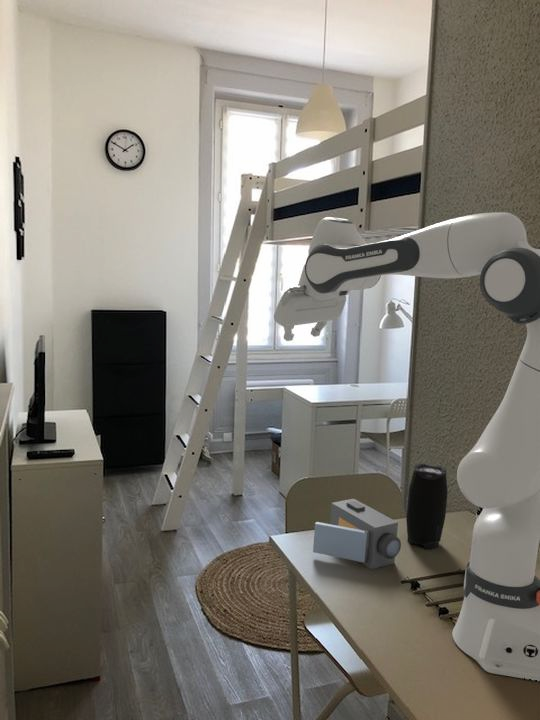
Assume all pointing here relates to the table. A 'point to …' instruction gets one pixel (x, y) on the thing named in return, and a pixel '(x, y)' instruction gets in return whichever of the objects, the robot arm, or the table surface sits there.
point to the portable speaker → (426, 505)
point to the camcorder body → (368, 519)
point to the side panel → (341, 542)
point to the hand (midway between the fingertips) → (301, 337)
